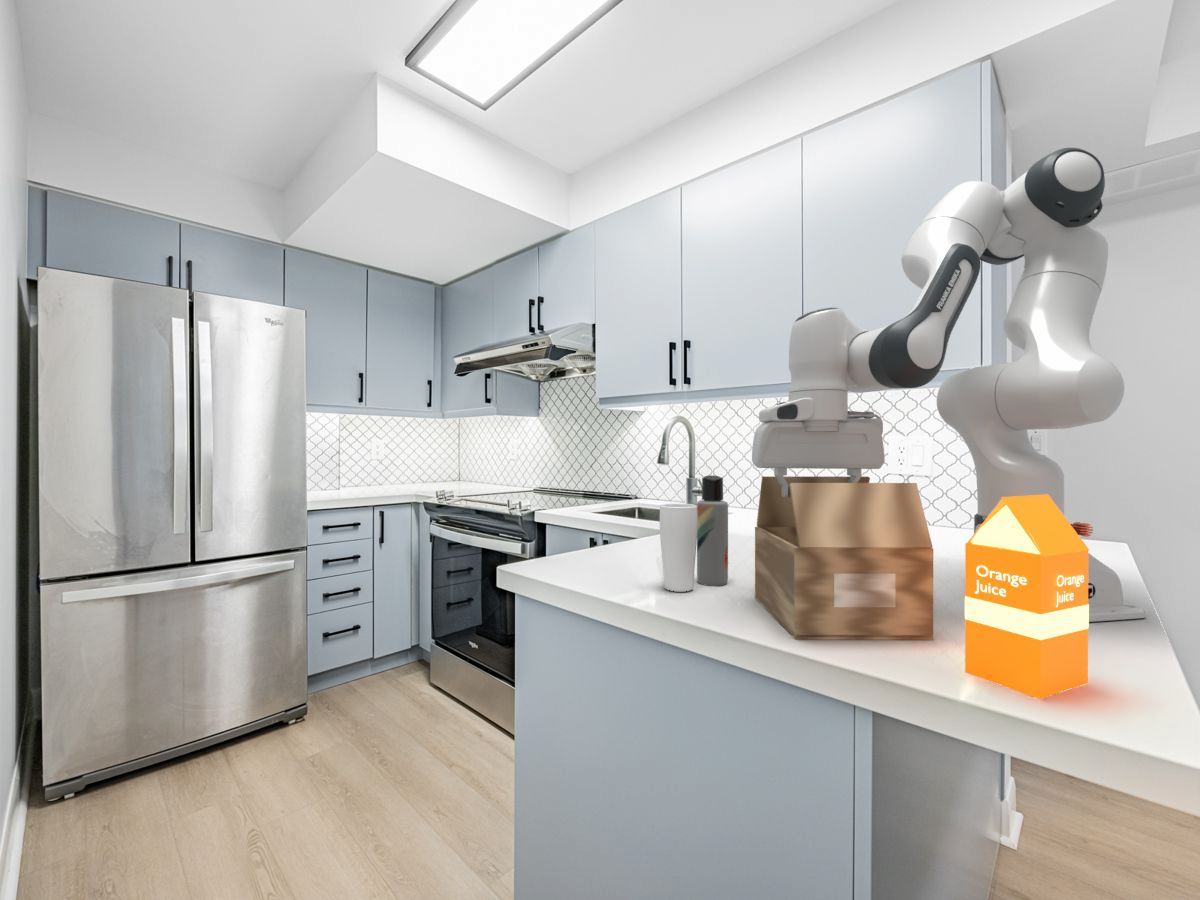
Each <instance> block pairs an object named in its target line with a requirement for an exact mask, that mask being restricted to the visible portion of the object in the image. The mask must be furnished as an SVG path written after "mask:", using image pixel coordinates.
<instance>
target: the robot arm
mask: <svg viewBox="0 0 1200 900" xmlns="http://www.w3.org/2000/svg"><path fill="white" fill-rule="evenodd" d="M1105 180H1106V179H1105V171H1104V167H1103V165H1102V162H1101V161H1100V160H1099V158H1098V157H1096V156H1095V155H1094V154H1093V153H1091V152H1090V151H1087V150H1085V149H1082V148H1078V147H1064V148H1060V149H1057V150H1055V151H1053V152H1051V153H1049V154H1046V155H1045V156H1043V157H1042V158H1040V159H1039V160H1038V161H1036V162H1035V163H1033V164H1032V166H1030V168H1029V169H1028V170H1027V171H1026V172H1024V173H1023V174H1022V175H1020V176H1019V177H1018V178H1016V179H1015V180H1014V181H1013V182H1012V183H1010V185H1008V187H1006V188H1005V189H1004V190H999V188H997V187H996V186H995V185H994V184H991V183H990V182H988V181H987V182H986V181H983V180H971V181H970V180H969V181H964V182H962V183H960V184H958V185H956V186H955V187H953V188H952V189H951V190H949V191H948V192H947V194H945V195H943V197H942V198H941V199H940V200H939V201H938V202H937V203H936V204H935V205H934V206H933V208H932V209H931V210H930V211H929V212H928V213H927V215H926V216H925V217H924V218H923V220H922V221H921V222H920V224H919V226H917V228H916V230H915V231H914V233H913V234H912V236H911V237H910V239H908V242H907V244H906V246H905V248H904V251H903V253H902V256H901V265H902V270H903V272H904V275H905V276H906V277H907V278H908V280H909V281H911V283H912V284H914V285H915V286H917V287H918V288H920V289H922V290H921V292H920V294H919V296H918V298H917V300H916V301H915V303H914V304H913V307H912V309H911V310H910V311H909V312H908V313H907V314H906V315H905V316H903V317H900V318H899V319H898V320H896V321H894V322H892V323H890V324H887V325H884V326H882V327H879V328H876V329H873V330H868V329H865V328H863V327H861V326H860V325H858V324H856V323H854V322H853V321H852V320H851V319H849V318H848V317H847V316H846V314H845V312H844V310H843V309H842V308H838V307H827V308H820V309H817V310H812V311H810V312H807V313H805V314H802V315H800V316H799V317H798V318H797V319H796V320H794V322H793V325H792V326H791V332H790V336H789V337H790V338H789V347H788V348H789V350H788V351H789V352H788V369H789V373H790V384H789V385H790V386H789V388H788V400H787V401H783V402H779V403H777V404H776V405H775V404H774V405H771V406H769V407H768V406H767V407H766V408H763V409H761V410H760V411H759V412H758V419H759V422H760V423H761V424H759V425H758V426H757V428H756V429H755V432H754V434H753V441H752V450H751V462H752V464H753V465H754V466H755V468H757V469H774V470H773V475H774V477H776V478H777V480H778V482H779V484H780V486H781V496H782V497H791V492H790V486H789V485H788V484H787V482H786V480H785V478H784V477H785V476H787V475H788V469H813V470H815V469H828V470H830V469H831V470H832V469H834V470H835V469H836V470H837V469H838V470H839V469H841V470H845V469H846V476H848V477H850V479H849V480H848V482H847V483H857V482H858V481H859V479H860V478H861V477H862V470H879V469H881V468H882V467H883V466H884V464H885V461H886V459H885V449H884V448H885V446H884V440H883V432H884V421H883V419H882V418H881V416H879V415H878V414H877V413H875V412H874V411H870V410H869V411H866V410H865V411H858V410H857V411H856V410H855V411H851V410H849V409H848V408H849V407H848V405H849V404H848V402H849V401H848V400H849V397H848V392H851V393H856V394H859V393H860V394H861V393H870V392H880V391H888V390H892V389H896V390H897V389H917V388H920V387H921V388H922V387H923V386H925V385H927V384H928V383H930V382H932V381H933V380H934V379H935V377H936V376H937V375H938V373H939V372H940V370H941V368H942V367H943V364H944V361H945V358H946V353H947V349H948V343H949V341H950V337H951V334H952V332H953V330H954V327H955V325H956V324H957V321H958V319H959V317H960V315H961V314H962V312H963V310H964V308H965V305H966V303H967V302H968V299H969V297H970V295H971V293H972V291H973V289H974V287H975V284H976V282H977V280H978V277H979V274H980V270H981V261H982V262H983V263H987V264H990V265H994V266H1002V265H1006V264H1010V263H1013V262H1015V261H1017V260H1019V259H1022V258H1024V265H1023V269H1024V270H1023V272H1022V274H1021V276H1020V279H1019V280H1018V282H1017V285H1016V289H1015V291H1014V294H1013V296H1012V299H1011V301H1010V304H1009V307H1008V310H1007V313H1006V315H1005V318H1004V321H1003V330H1004V333H1005V336H1006V338H1007V339H1008V341H1009V342H1010V343H1011V344H1012V345H1014V346H1015V347H1017V348H1019V349H1022V350H1024V351H1023V354H1022V356H1021V357H1020V358H1019V359H1018V360H1016V361H1011V362H1004V363H997V364H991V365H984V366H977V367H973V368H969V369H966V370H964V371H961V372H957V373H956V374H953V375H950V376H949V377H947V378H946V379H944V380H943V382H942V383H941V385H940V386H939V388H938V390H937V395H936V408H937V412H938V413H939V416H940V418H941V419H942V420H943V422H944V423H945V424H947V425H948V426H950V427H951V428H952V429H954V431H955V432H957V433H958V435H959V436H960V437H961V438H962V440H963V442H964V443H965V445H966V446H967V448H968V451H969V452H970V454H971V457H972V460H973V464H974V469H975V473H976V474H975V475H976V495H977V513H976V514H975V515H974V523H973V535H974V534H975V532H976V531H977V530H978V529H979V527H980V526H981V525H982V523H983V522H984V521H985V520H986V518H987V517H988V516H989V515H990V513H991V512H992V511H993V510H994V508H995V507H996V506H997V505H998V503H999V502H1000V501H1001V500H1002V498H1001V497H1015V496H1031V495H1049V497H1050V498H1051V499H1052V501H1053V502H1054V503H1055V505H1056V506H1057V507H1058V509H1059V510H1060V511H1061V513H1062V514H1063V515H1064V516H1065V475H1064V472H1063V469H1062V468H1061V467H1060V465H1059V464H1058V463H1057V462H1056V461H1054V460H1053V459H1051V458H1049V457H1047V456H1046V455H1043V454H1041V453H1039V452H1038V451H1037V450H1036V449H1035V448H1034V447H1033V445H1032V443H1031V441H1030V438H1029V435H1028V431H1029V430H1030V431H1032V430H1061V429H1062V430H1063V429H1072V428H1077V427H1081V426H1085V425H1091V424H1095V423H1100V422H1104V421H1106V420H1108V419H1109V418H1111V417H1112V416H1113V414H1115V413H1116V411H1117V410H1118V409H1119V407H1120V405H1121V404H1122V402H1123V398H1124V394H1125V382H1124V379H1123V376H1122V373H1121V372H1120V370H1119V368H1118V367H1117V366H1116V365H1115V364H1114V363H1113V362H1112V361H1110V360H1109V359H1108V358H1106V357H1104V356H1102V355H1101V354H1099V353H1097V352H1096V351H1095V350H1094V348H1093V347H1092V344H1091V341H1090V329H1091V326H1092V322H1093V319H1094V315H1095V312H1096V308H1097V305H1098V302H1099V299H1100V296H1101V293H1102V290H1103V288H1104V287H1103V286H1104V283H1105V282H1104V281H1105V278H1106V275H1107V268H1108V261H1109V244H1108V243H1109V242H1108V241H1107V239H1106V237H1105V236H1104V235H1103V234H1102V233H1101V232H1100V231H1097V230H1095V229H1093V228H1091V227H1090V226H1089V225H1088V224H1090V223H1091V222H1092V221H1093V220H1095V219H1096V218H1098V216H1099V215H1100V213H1101V212H1102V209H1103V201H1102V197H1103V195H1104V192H1105V187H1106V181H1105ZM874 417H875V418H874ZM1070 525H1071V526H1072V527H1073V529H1074V530H1075V531H1076V533H1077V534H1078V535H1079V536H1080V537H1081V536H1082V537H1085V538H1086V537H1087V538H1088V537H1091V535H1092V534H1093V533H1094V532H1093V531H1094V529H1093V526H1092V525H1091V524H1089V523H1087V522H1084V523H1083V522H1082V523H1081V522H1080V521H1079V522H1078V521H1076V522H1073V523H1070ZM1088 604H1089V623H1090V622H1091V623H1092V622H1104V621H1105V622H1106V621H1118V620H1134V619H1136V620H1137V619H1145V618H1146V614H1145V610H1143V609H1142V608H1140V607H1139V606H1136V605H1134V604H1131V603H1128V602H1125V601H1124V594H1123V587H1122V583H1121V579H1120V577H1119V575H1118V574H1117V572H1115V570H1113V569H1112V568H1110V567H1109V566H1108V565H1106V564H1105V563H1103V562H1102V561H1100V560H1099V559H1097V558H1096V557H1095V556H1093V555H1092V554H1091V553H1089V552H1088Z"/></svg>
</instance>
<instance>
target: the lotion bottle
mask: <svg viewBox="0 0 1200 900" xmlns="http://www.w3.org/2000/svg"><path fill="white" fill-rule="evenodd" d="M696 505H697V510H698V532H697V544H696V575H697V576H696V578H697V580H696V581H697V583H699V584H701V585H704V584H705V586H711V585H713V587H714V586H716V587H717V586H718V587H719V585H720V586H724V585H727V584H728V582H729V503H728V501H724V477H721V476H719V475H705V476H704V477H701V500H699V501H697V503H696Z"/></svg>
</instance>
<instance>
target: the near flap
mask: <svg viewBox="0 0 1200 900" xmlns="http://www.w3.org/2000/svg"><path fill="white" fill-rule="evenodd" d="M789 485H790V492H791V499H792V505H793V512H794V519H795V526H796V532H797V539H798V546H799V548H880V549H931V548H933V544H932V539H931V535H930V534H931V533H930V531H929V527H928V522H927V518H926V515H925V511H924V507H923V503H922V499H921V495H920V492H919V488H918V484H917V482H869V483H790V484H789ZM933 549H934V548H933Z"/></svg>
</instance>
